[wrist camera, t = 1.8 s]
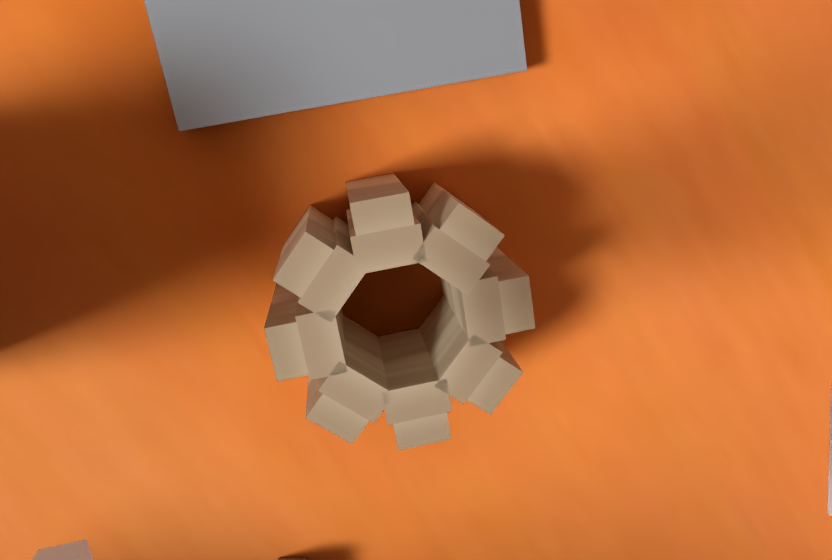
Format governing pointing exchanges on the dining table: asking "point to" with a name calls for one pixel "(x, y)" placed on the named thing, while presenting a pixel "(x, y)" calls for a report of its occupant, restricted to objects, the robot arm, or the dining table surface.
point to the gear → (292, 558)
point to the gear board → (323, 51)
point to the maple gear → (404, 351)
